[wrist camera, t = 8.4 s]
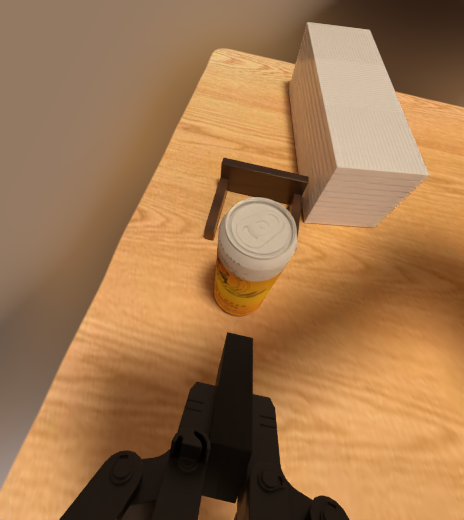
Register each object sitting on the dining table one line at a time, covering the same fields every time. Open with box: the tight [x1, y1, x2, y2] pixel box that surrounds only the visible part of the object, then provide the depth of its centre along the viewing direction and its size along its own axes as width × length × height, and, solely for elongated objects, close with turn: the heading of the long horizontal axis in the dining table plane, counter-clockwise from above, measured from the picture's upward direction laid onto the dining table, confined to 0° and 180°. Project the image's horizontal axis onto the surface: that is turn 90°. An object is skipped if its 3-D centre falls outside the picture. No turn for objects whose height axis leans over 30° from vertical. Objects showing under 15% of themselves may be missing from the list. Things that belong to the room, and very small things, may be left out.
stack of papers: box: [289, 22, 429, 228], centre depth 41 cm, size 32×11×11 cm, turn 179°
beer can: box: [214, 197, 297, 316], centre depth 26 cm, size 6×6×15 cm
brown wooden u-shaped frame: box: [205, 158, 309, 251], centre depth 35 cm, size 10×12×5 cm
